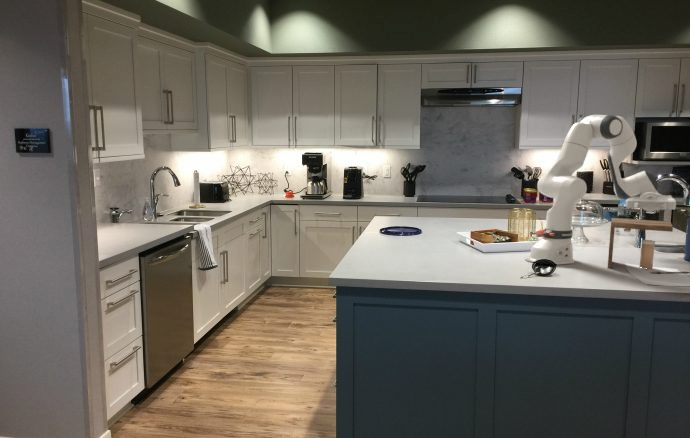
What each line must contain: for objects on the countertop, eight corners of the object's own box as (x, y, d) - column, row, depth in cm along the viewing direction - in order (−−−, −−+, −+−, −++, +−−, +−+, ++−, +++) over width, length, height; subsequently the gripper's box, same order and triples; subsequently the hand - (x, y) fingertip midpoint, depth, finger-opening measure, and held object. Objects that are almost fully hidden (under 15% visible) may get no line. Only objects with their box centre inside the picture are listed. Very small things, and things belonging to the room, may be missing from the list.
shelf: (608, 261, 260) (611, 217, 257) (665, 266, 250) (670, 221, 247) (607, 268, 246) (611, 222, 243) (668, 274, 236) (672, 226, 233)
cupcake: (541, 244, 295) (542, 222, 294) (531, 241, 304) (532, 219, 302) (555, 244, 298) (556, 221, 296) (545, 241, 306) (547, 218, 304)
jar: (647, 270, 244) (650, 242, 242) (636, 267, 248) (638, 240, 246) (655, 268, 246) (657, 241, 244) (644, 266, 250) (646, 239, 249)
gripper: (625, 194, 271) (625, 198, 259) (675, 195, 261) (677, 200, 249) (625, 207, 272) (624, 212, 260) (674, 209, 263) (676, 214, 251)
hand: (650, 206), depth 255 cm, fingers open, 8 cm apart
